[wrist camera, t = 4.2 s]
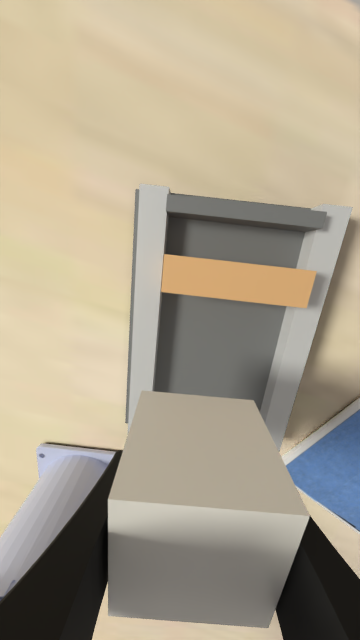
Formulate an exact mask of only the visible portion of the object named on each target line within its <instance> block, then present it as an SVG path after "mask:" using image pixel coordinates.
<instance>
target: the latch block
mask: <svg viewBox="0 0 360 640" xmlns="http://www.w3.org/2000/svg"><path fill="white" fill-rule="evenodd" d="M316 273H317V271H311V270H303V269H294V268H285V267H276V266H267V265H258V264H249V263H240V262H231V261H223V260H214V259H205V258H196V257H187V256H178V255H169V254H164V263H163V275H162V287H161V292H166V293H174V294H183V295H192V296H201V297H210V298H219V299H228V300H237V301H246V302H254V303H263V304H272V305H281V306H290V307H299V308H307V305H308V301H309V298H310V294H311V291H312V287H313V283H314V280H315V276H316Z"/></svg>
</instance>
